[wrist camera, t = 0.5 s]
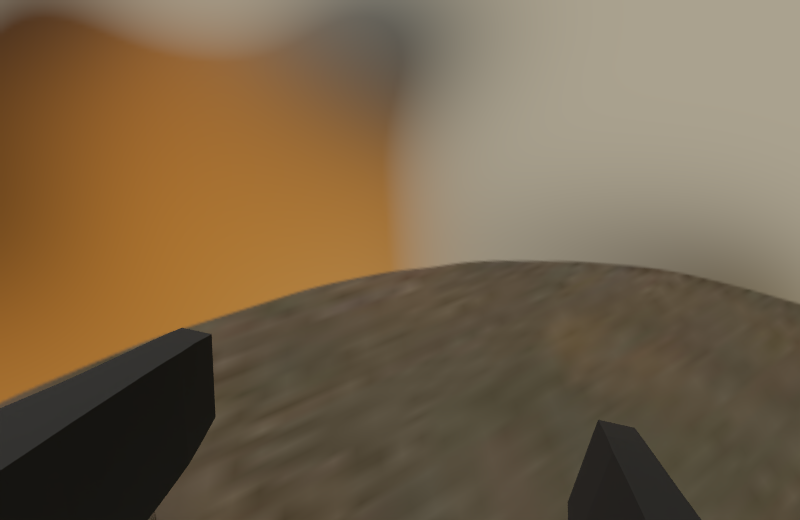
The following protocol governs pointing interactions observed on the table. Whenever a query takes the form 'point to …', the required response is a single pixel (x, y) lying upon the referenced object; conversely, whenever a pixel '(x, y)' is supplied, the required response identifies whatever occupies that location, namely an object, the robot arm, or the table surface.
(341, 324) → the table surface
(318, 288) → the table surface
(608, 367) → the table surface
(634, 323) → the table surface
